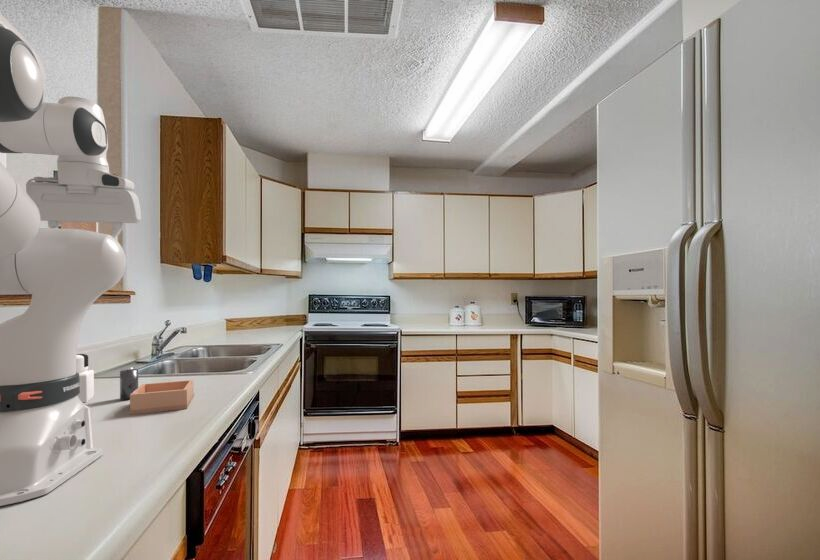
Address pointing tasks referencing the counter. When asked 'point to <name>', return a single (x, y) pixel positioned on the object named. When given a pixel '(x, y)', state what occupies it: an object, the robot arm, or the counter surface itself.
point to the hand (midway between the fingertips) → (87, 243)
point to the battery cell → (128, 382)
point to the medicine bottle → (85, 378)
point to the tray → (162, 396)
